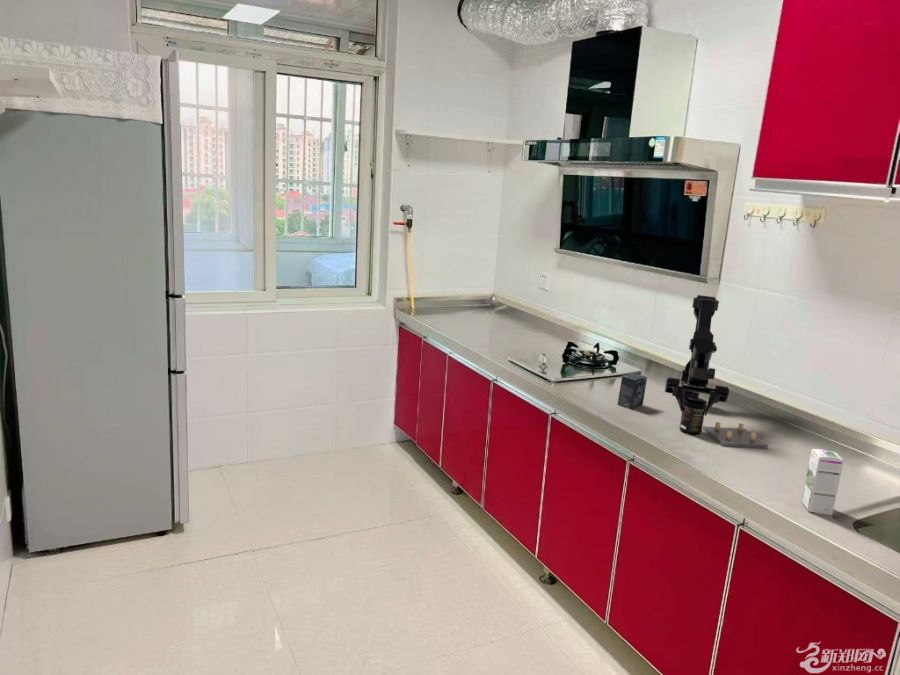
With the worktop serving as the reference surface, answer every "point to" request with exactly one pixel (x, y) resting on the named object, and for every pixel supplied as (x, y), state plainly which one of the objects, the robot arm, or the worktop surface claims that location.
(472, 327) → the worktop surface
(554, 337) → the worktop surface
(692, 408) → the supplement container
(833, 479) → the syrup box
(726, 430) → the plate
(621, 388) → the box
